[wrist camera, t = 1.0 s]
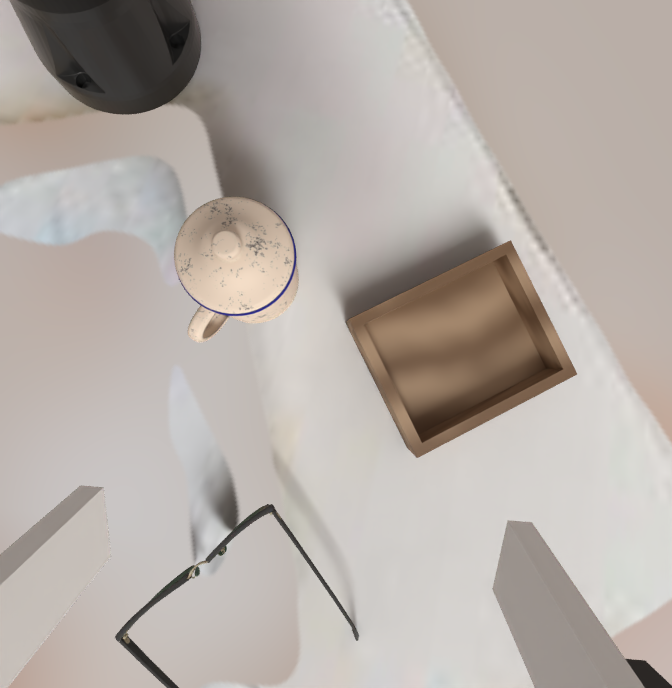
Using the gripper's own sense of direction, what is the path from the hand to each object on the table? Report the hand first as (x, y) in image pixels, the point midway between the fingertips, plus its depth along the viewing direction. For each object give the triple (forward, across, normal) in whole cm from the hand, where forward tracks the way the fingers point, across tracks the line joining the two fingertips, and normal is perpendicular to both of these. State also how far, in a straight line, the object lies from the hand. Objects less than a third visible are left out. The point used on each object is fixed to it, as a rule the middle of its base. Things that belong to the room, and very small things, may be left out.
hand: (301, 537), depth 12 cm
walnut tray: (+26, +12, +1) cm, 28 cm away
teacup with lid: (+26, -9, +5) cm, 27 cm away
